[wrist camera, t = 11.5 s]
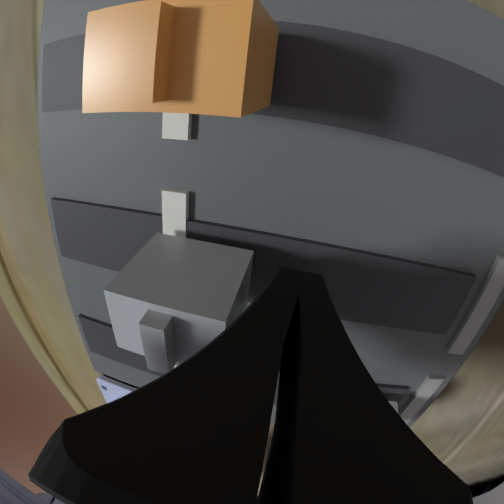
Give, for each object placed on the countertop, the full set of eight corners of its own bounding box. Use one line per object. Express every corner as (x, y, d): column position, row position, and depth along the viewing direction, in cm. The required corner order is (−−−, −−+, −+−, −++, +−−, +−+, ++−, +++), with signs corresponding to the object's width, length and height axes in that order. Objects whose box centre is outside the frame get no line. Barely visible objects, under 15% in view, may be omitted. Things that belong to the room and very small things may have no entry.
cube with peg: (247, 304, 10) (216, 393, 7) (160, 285, 10) (109, 359, 7) (253, 250, 9) (219, 338, 6) (157, 232, 9) (92, 302, 6)
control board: (399, 419, 15) (400, 440, 14) (104, 356, 17) (92, 373, 16) (552, 65, 5) (576, 67, 4) (66, -3, 7) (41, -6, 6)
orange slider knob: (270, 106, 7) (232, 122, 4) (156, 98, 7) (64, 118, 4) (279, 28, 6) (247, -16, 3) (161, 27, 6) (70, 9, 3)
